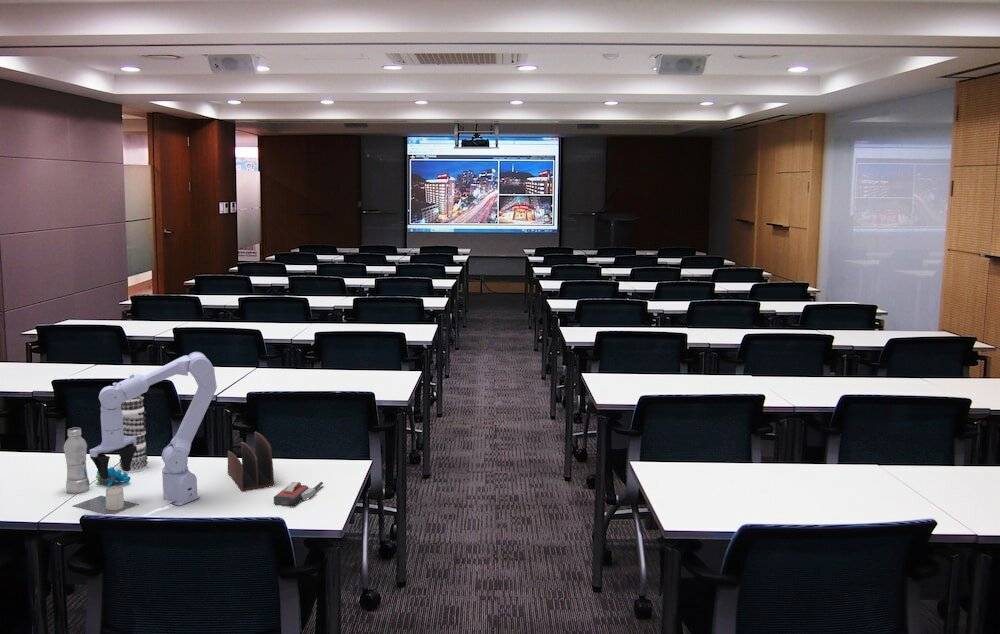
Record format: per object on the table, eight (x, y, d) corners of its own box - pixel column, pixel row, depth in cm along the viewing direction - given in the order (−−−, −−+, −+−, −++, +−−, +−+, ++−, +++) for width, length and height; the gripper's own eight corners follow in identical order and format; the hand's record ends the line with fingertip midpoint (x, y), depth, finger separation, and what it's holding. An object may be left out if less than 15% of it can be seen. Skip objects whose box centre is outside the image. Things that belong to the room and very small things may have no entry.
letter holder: (258, 469, 290) (257, 428, 288) (274, 487, 273) (273, 443, 271) (227, 474, 285) (225, 431, 283) (241, 492, 268) (240, 447, 266)
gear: (138, 479, 274) (117, 464, 267) (130, 496, 270) (109, 481, 263) (110, 480, 278) (89, 465, 270) (102, 497, 274) (80, 482, 267)
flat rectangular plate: (139, 507, 254) (138, 492, 254) (110, 518, 245) (109, 503, 245) (101, 498, 261) (100, 484, 261) (71, 509, 252) (70, 494, 252)
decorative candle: (141, 462, 296) (137, 389, 293) (154, 468, 290) (150, 394, 287) (114, 468, 290) (110, 394, 286) (126, 474, 284) (122, 398, 280)
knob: (127, 506, 252) (126, 487, 252) (113, 511, 248) (113, 491, 248) (116, 503, 254) (115, 484, 254) (103, 508, 251) (102, 488, 250)
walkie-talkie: (298, 509, 254) (325, 487, 274) (298, 495, 254) (325, 473, 273) (270, 507, 256) (299, 485, 275) (270, 493, 255) (298, 471, 275)
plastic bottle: (64, 498, 262) (60, 432, 259) (68, 490, 268) (64, 427, 265) (88, 496, 263) (84, 431, 261) (91, 489, 270) (87, 425, 267)
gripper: (123, 421, 259) (125, 465, 261) (80, 433, 246) (83, 479, 248) (140, 423, 256) (143, 468, 258) (98, 436, 243) (101, 483, 245)
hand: (115, 474), depth 253 cm, fingers open, 7 cm apart
